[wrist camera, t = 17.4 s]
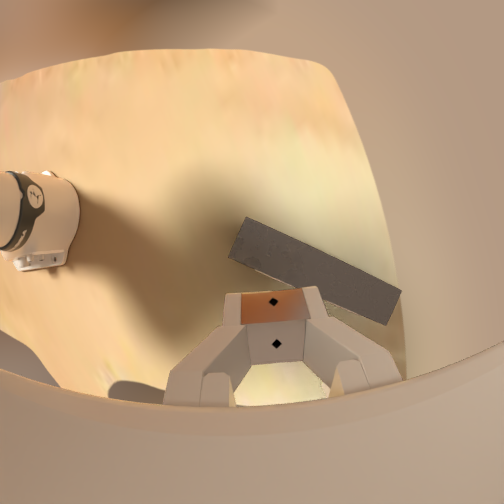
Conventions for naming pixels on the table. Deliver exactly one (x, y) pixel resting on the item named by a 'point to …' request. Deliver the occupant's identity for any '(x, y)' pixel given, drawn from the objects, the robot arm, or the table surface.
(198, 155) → the table surface
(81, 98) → the table surface
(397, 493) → the robot arm
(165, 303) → the table surface
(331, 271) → the grey rectangular box
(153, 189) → the table surface
